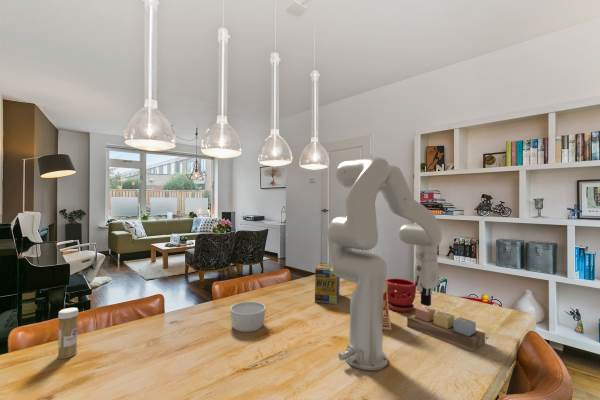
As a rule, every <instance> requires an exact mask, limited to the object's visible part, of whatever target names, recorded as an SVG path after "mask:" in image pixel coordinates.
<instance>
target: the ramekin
mask: <svg viewBox="0 0 600 400" xmlns="http://www.w3.org/2000/svg"><path fill="white" fill-rule="evenodd" d="M266 311H267V307H266V305H265V304H263V303H261V302H258V301H240V302H237V303H235V304H232V305H231V306H230V308H229V313H230V320H231V325H232V328H233V329H234V330H236V331H237V332H243V333H249V332H251V333H252V332H255V331H257V330H259V329H261V327H263V325H264V322H265V316H266Z"/></svg>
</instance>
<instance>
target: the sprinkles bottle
mask: <svg viewBox="0 0 600 400" xmlns="http://www.w3.org/2000/svg"><path fill="white" fill-rule="evenodd" d="M78 315H79V309H78V307H68V308H63V309H60V311H58V317H57V318H58V333H57V334H58V336H57V337H58V338H57V342H58V343H57V345H58V346H57V347H58V353H57V358H58V359H63V360H64V359H68V358H72V357H74V356H75V355H76V354H77V353H78V350H77V346H78V345H77V344H78Z"/></svg>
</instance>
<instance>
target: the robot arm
mask: <svg viewBox="0 0 600 400" xmlns="http://www.w3.org/2000/svg"><path fill="white" fill-rule="evenodd" d="M335 177H336V180H337V181H338V183H339V184H340V185H341V186H342V187H344V188H348V189H349V191H348V193H347V195H346V197H345V198H346V199H345V215H344V216H343V215H341V216H337V217H334V219H332V220H331V222H330V223H329V226H328V230H327V242H328V243H327V244H328V249H329V250H328V252H329V257H330V264H331V266H332V269H333V272H334V273H335V275H336V276H338V277H339V278H340V279H342V280H345V281H349V282H353V283H355V284H356V287H355V288H354V290H352V291H353V292H352V293H351V296H350V299H349V302H350V303H349V306H350V307H349V308H350V309H349V310H350V311H349V343H348V344H347V348H346V349H345V350H344V351H342V352H339V353H338V354H337V355H338V359H339V361H346V362H347V363H348V364H349V365H351V366H352V367H354V368H356V369H358V370H359V369H360V370H363V371H379V370H382V369H383V368H385V367H386V366H387V365H388V356H387V354H386V353H385V352H384V351H383V330H384V329H383V291H384V285H385V280H387V274H388V266H387V263H386V261H385V260H384V258H382V257H381V256H379V255H377V254H376V253H375V254H374V253H371V252H365V251H370V250H373V249H374V248H375V247H376V246H377V245H378V241H379V231H378V230H379V229H378V223H377V213H376V199H377V195H378V194H379V192H380V193H381V194H382V196H383V198H384V200H385V202H386V203H387V204H386V205H387V206H388V209H389V210H390V211H391V212H392V213H393V214H395V216H396V215H397V216H399V217H401V218H404V219H406V220H408V221H411V222H413V223H405V224H403V225H402V226H401V227H400V228H399V230H398V237H399V239H400V241H401V242H402V243H404V244H406V245H407V244H408V245H413V246H415V265H414V266H415V267H414V275H413V276H414V280H413V282H415V286H416V292H419V294H420V304H421V306H426V307H430V306H431V305H432V294H433V289H434V288H435V287H437V286H439V284H440V272H439V271H440V270H439V269H440V268H439V263H438V246H439V245H440V244H441V242H442V239H443V232H442V230H441V227H440V223H439V222H438V219H437V218H436V216H435V214H434V212H432V211H430V210H429V209H428V208H427V207H426V206H424V205H423V204H421V202H419V201H417V200H415V199H414V196H413V194H412V192H411V189H410V187H409V185H408V183H407V181H406V177H405V175H404V174H403V171H402V170H401V168H400V167H398V166H397V165H393V164H392V165H390V164H389V162H388V161H387V160H386V158H383V157H375V156H374V157H365V158H359V159H358V158H357V159H350V160H344V161H342V162H341V163H340V164H339V165H338V166H337V168H336V171H335ZM353 249H355V250H353ZM358 250H359V251H358ZM362 250H363V251H362Z"/></svg>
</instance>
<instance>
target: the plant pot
mask: <svg viewBox="0 0 600 400" xmlns="http://www.w3.org/2000/svg"><path fill="white" fill-rule="evenodd" d="M386 281H387V295H388V308H389V309H391V310H394V311H396V312H401V313H402V312H410V311H412V310H413V309H414V308H415V306H414V304H413V303H414V301H415V298H416V293H417V286H415V282H414V280H409V279H403V278H386Z"/></svg>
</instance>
